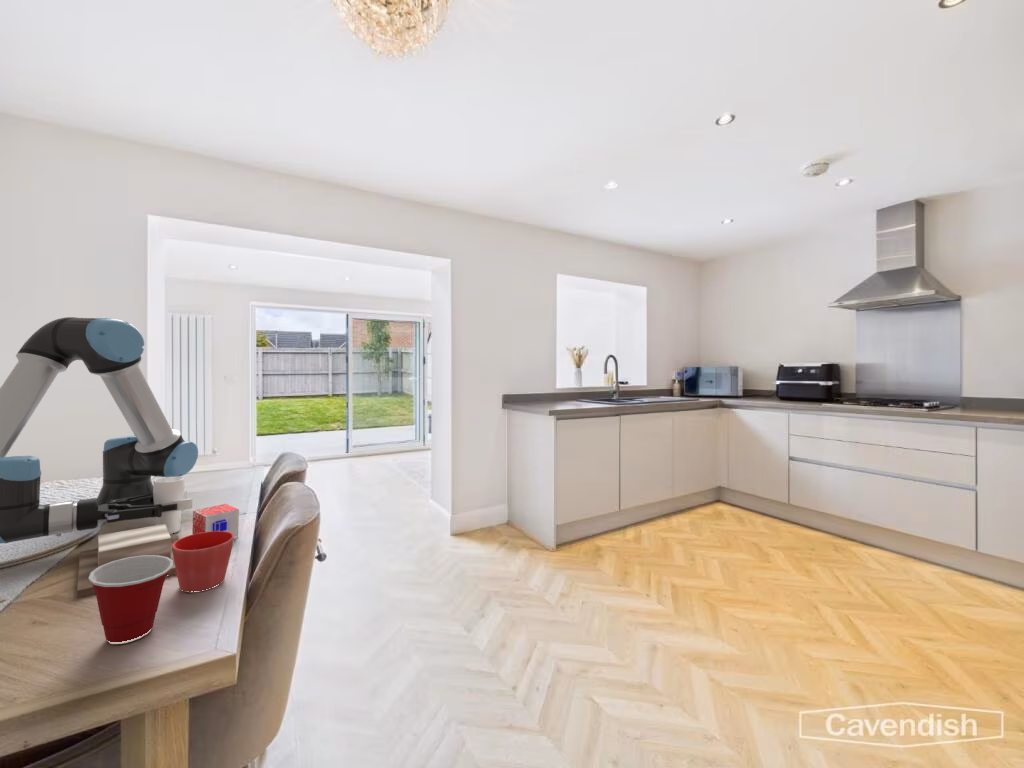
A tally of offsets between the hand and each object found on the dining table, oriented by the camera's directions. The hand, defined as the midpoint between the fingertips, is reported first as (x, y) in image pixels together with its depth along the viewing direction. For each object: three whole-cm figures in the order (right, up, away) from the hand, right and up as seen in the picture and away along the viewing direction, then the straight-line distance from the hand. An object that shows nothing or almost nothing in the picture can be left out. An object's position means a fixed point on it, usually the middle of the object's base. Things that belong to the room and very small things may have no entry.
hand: (189, 499), depth 119 cm
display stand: (+4, -9, -22) cm, 24 cm away
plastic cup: (+27, -10, -47) cm, 56 cm away
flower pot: (+26, -10, -30) cm, 41 cm away
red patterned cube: (+12, -9, -6) cm, 16 cm away
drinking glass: (-3, -9, -3) cm, 10 cm away
